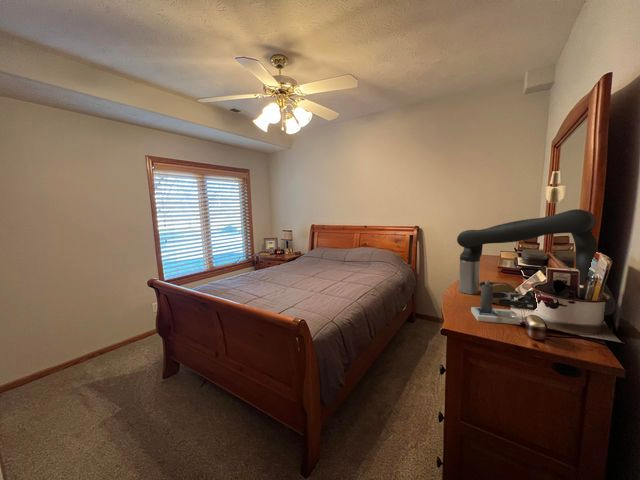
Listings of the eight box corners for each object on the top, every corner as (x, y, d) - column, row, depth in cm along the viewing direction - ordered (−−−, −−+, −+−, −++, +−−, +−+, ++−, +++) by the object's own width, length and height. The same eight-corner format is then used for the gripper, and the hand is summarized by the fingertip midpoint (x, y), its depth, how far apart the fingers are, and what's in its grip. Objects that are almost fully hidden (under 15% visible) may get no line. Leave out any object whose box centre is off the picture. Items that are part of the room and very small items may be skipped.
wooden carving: (519, 303, 122) (520, 282, 121) (523, 306, 118) (525, 285, 117) (479, 300, 127) (480, 280, 126) (482, 304, 123) (483, 283, 121)
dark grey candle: (478, 314, 111) (480, 279, 109) (489, 315, 110) (491, 279, 108) (481, 318, 107) (483, 281, 105) (493, 319, 106) (494, 282, 104)
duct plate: (471, 311, 115) (471, 305, 114) (511, 314, 110) (511, 308, 110) (477, 320, 105) (478, 314, 105) (522, 324, 101) (522, 318, 100)
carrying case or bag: (484, 292, 140) (516, 293, 137) (485, 286, 140) (516, 287, 136) (478, 286, 151) (507, 287, 147) (478, 281, 150) (507, 282, 147)
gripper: (534, 286, 108) (489, 284, 113) (553, 297, 95) (502, 294, 99) (533, 303, 109) (489, 300, 114) (552, 317, 96) (501, 313, 100)
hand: (495, 298), depth 107 cm, fingers open, 8 cm apart
